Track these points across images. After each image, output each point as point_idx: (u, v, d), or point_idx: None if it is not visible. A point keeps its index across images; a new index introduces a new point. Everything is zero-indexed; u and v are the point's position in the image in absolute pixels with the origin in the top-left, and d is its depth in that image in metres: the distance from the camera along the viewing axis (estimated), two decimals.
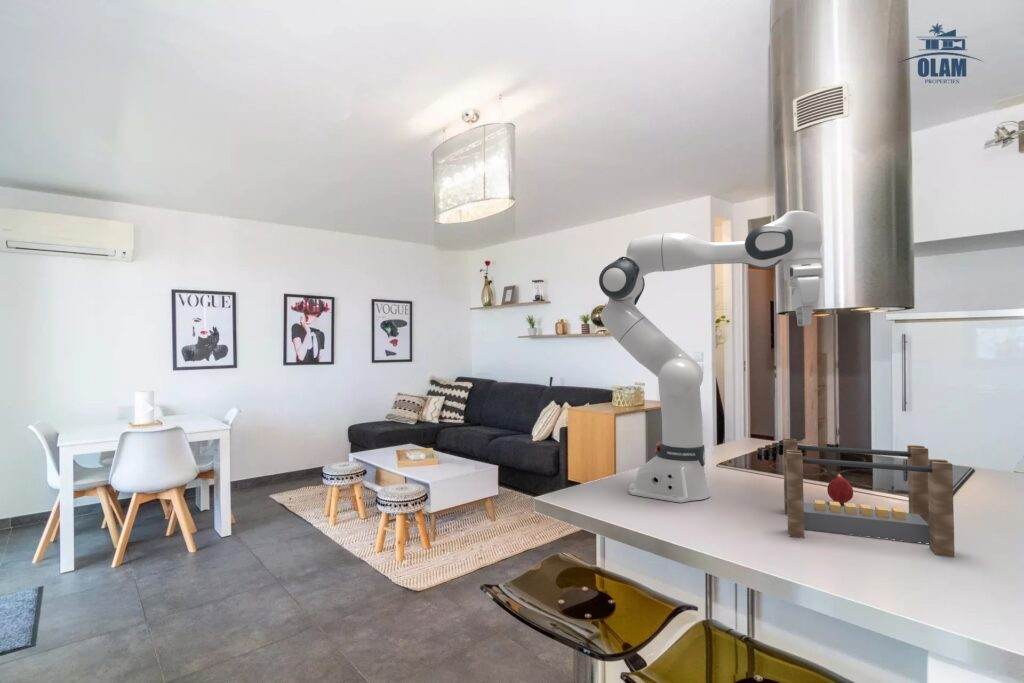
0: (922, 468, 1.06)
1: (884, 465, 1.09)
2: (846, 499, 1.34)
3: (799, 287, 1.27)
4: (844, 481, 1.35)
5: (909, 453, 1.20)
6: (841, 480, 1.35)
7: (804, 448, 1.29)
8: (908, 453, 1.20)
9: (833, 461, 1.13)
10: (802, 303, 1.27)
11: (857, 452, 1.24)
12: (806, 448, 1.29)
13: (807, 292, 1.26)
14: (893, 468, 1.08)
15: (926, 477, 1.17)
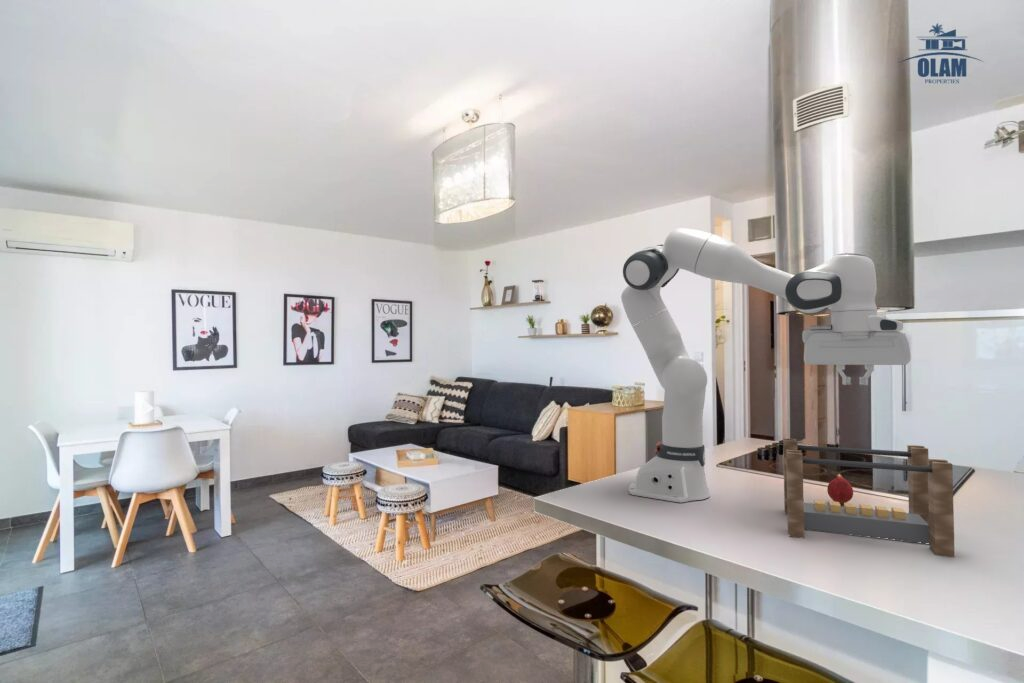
0: (922, 468, 1.06)
1: (884, 465, 1.09)
2: (846, 499, 1.34)
3: (908, 344, 1.12)
4: (844, 481, 1.35)
5: (909, 453, 1.20)
6: (841, 480, 1.35)
7: (804, 448, 1.29)
8: (908, 453, 1.20)
9: (833, 461, 1.13)
10: (908, 362, 1.13)
11: (857, 452, 1.24)
12: (806, 448, 1.29)
13: None
14: (893, 468, 1.08)
15: (926, 477, 1.17)
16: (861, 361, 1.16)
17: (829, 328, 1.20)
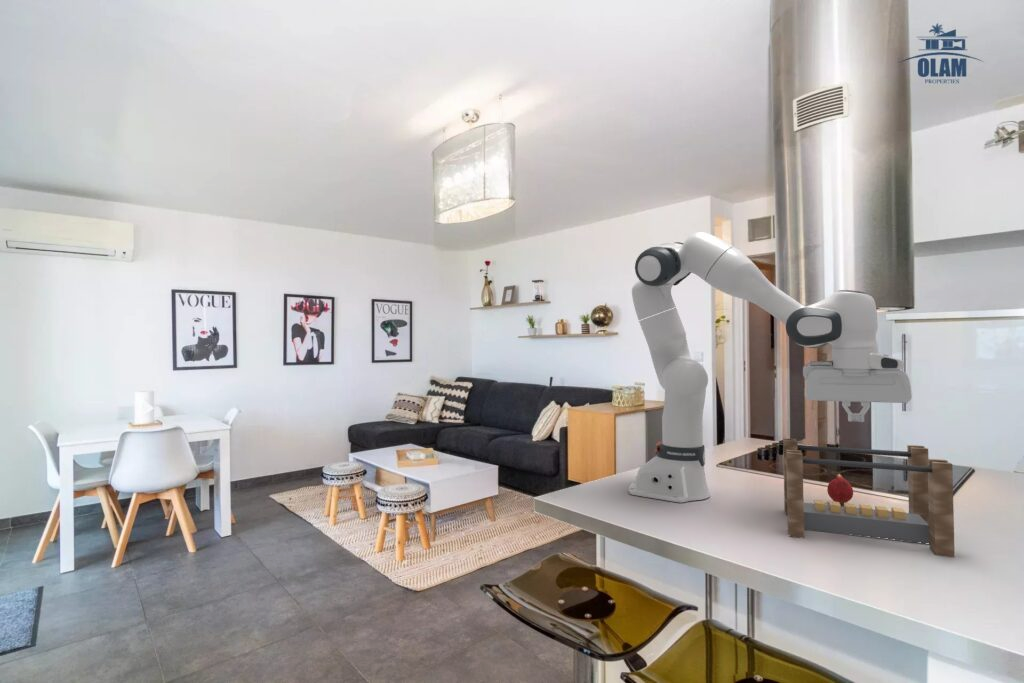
0: (922, 468, 1.06)
1: (884, 465, 1.09)
2: (846, 499, 1.34)
3: (909, 382, 1.12)
4: (844, 481, 1.35)
5: (909, 453, 1.20)
6: (841, 480, 1.35)
7: (804, 448, 1.29)
8: (908, 453, 1.20)
9: (833, 461, 1.13)
10: (909, 400, 1.12)
11: (857, 452, 1.24)
12: (806, 448, 1.29)
13: None
14: (893, 468, 1.08)
15: (926, 477, 1.17)
16: (862, 398, 1.16)
17: (830, 364, 1.20)
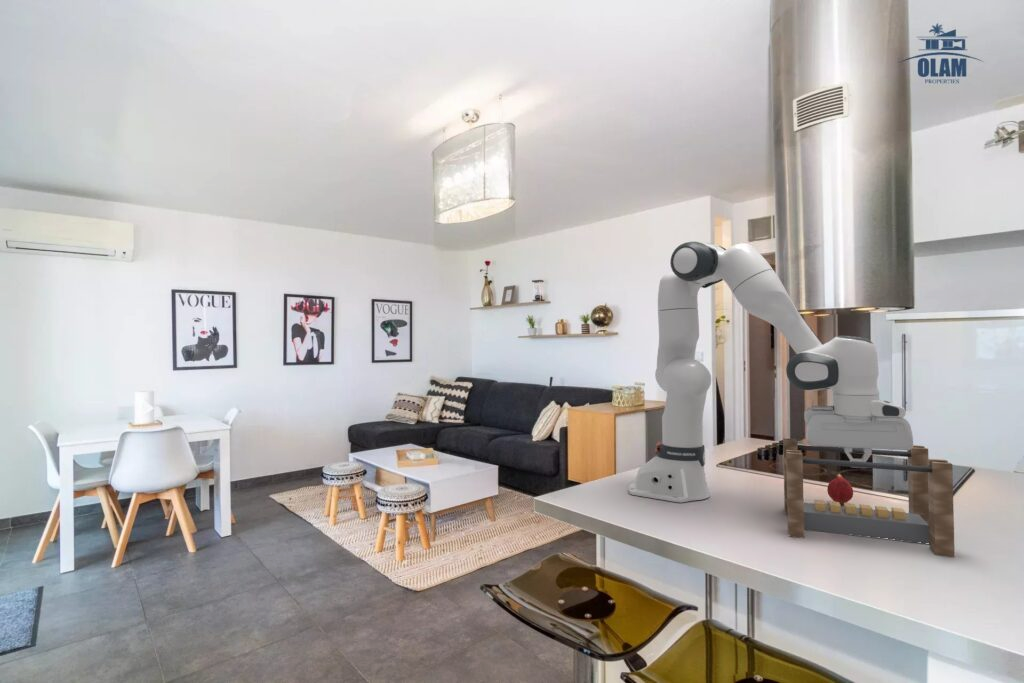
0: (922, 468, 1.06)
1: (884, 465, 1.09)
2: (846, 499, 1.34)
3: (910, 430, 1.12)
4: (844, 481, 1.35)
5: (909, 453, 1.20)
6: (841, 480, 1.35)
7: (804, 448, 1.29)
8: (908, 453, 1.20)
9: (833, 461, 1.13)
10: (910, 448, 1.12)
11: (857, 452, 1.24)
12: (806, 448, 1.29)
13: None
14: (893, 468, 1.08)
15: (926, 477, 1.17)
16: (864, 445, 1.16)
17: (831, 409, 1.19)
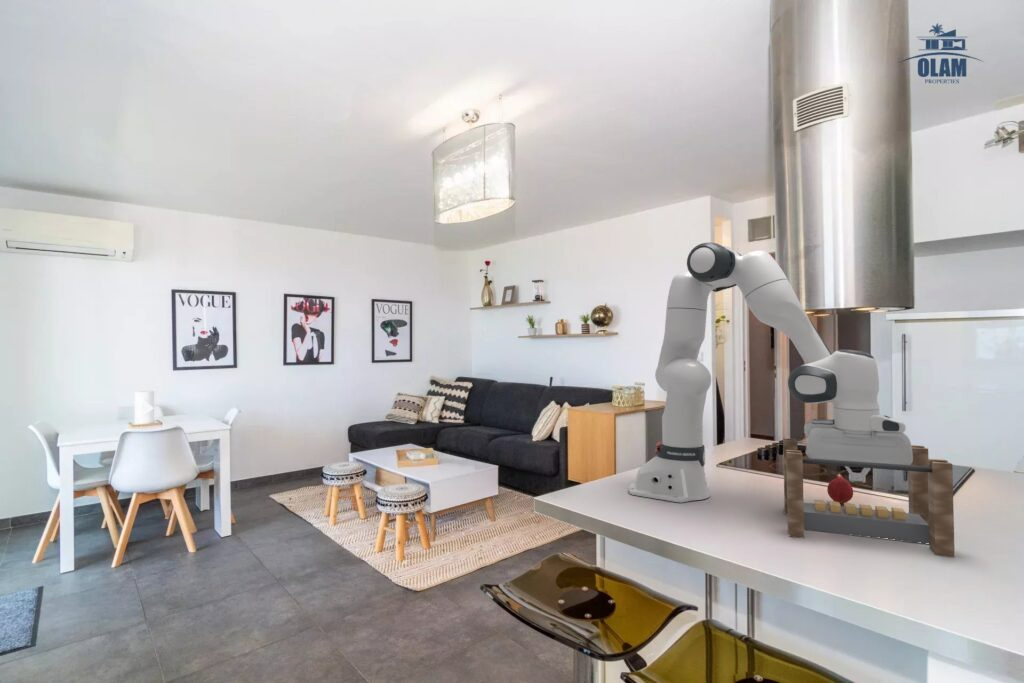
0: (922, 468, 1.06)
1: (884, 465, 1.09)
2: (846, 499, 1.34)
3: (910, 446, 1.12)
4: (844, 481, 1.35)
5: None
6: (841, 480, 1.35)
7: (804, 448, 1.29)
8: None
9: (833, 461, 1.13)
10: (910, 463, 1.12)
11: None
12: None
13: None
14: (893, 468, 1.08)
15: (926, 477, 1.17)
16: (863, 459, 1.16)
17: (831, 423, 1.20)
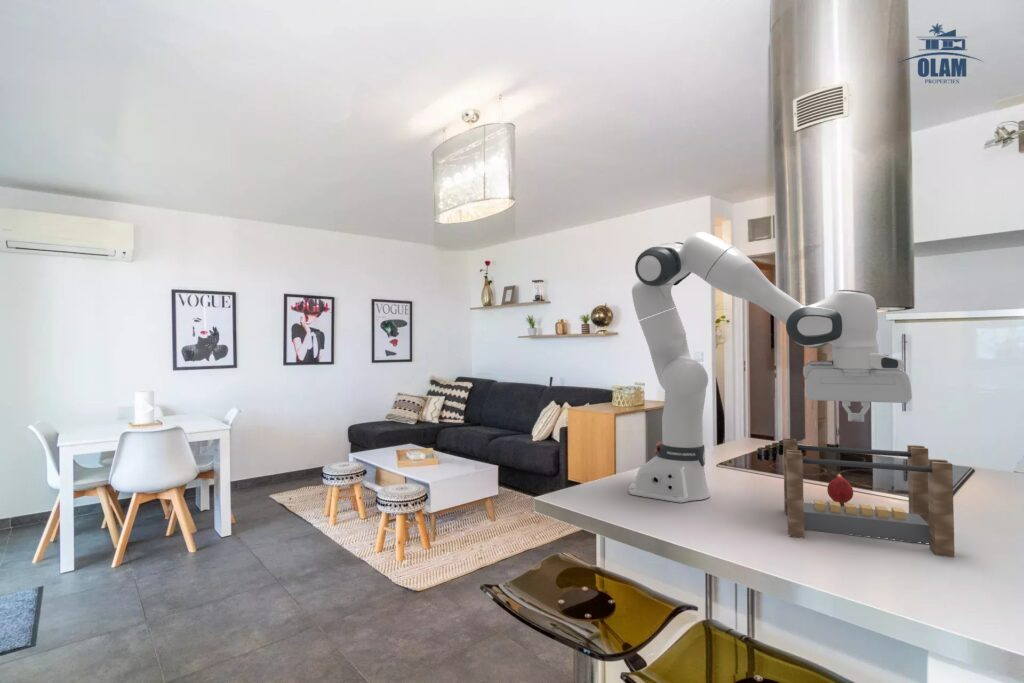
0: (922, 468, 1.06)
1: (884, 465, 1.09)
2: (846, 499, 1.34)
3: (909, 382, 1.12)
4: (844, 481, 1.35)
5: (909, 453, 1.20)
6: (841, 480, 1.35)
7: (804, 448, 1.29)
8: (908, 453, 1.20)
9: (833, 461, 1.13)
10: (909, 400, 1.12)
11: (857, 452, 1.24)
12: (806, 448, 1.29)
13: None
14: (893, 468, 1.08)
15: (926, 477, 1.17)
16: (862, 398, 1.16)
17: (830, 364, 1.20)
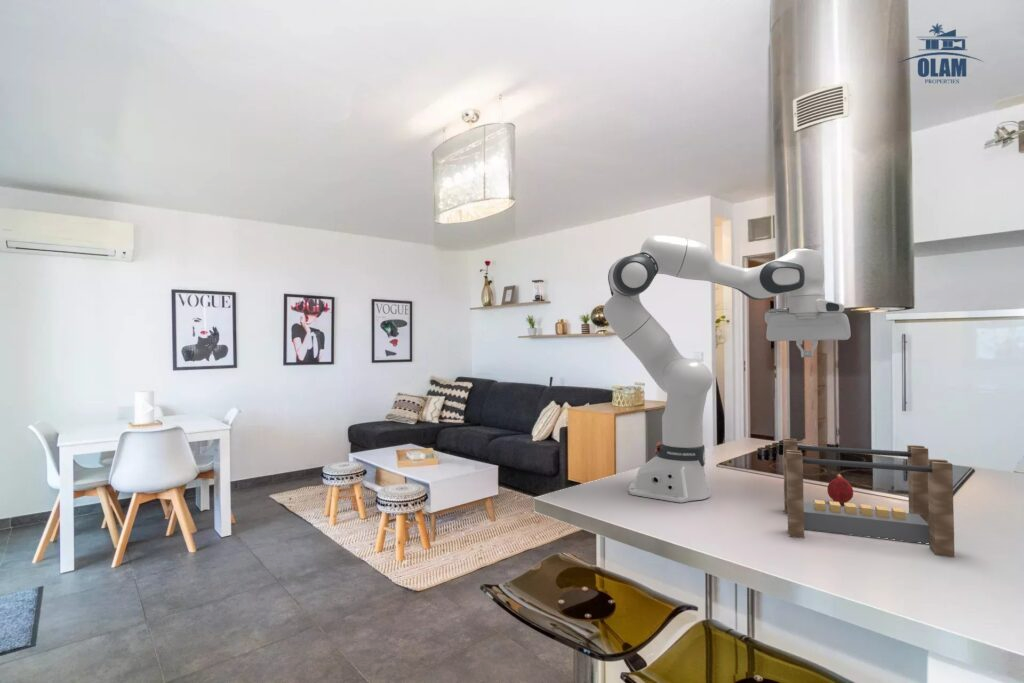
0: (922, 468, 1.06)
1: (884, 465, 1.09)
2: (846, 499, 1.34)
3: (848, 322, 1.37)
4: (844, 481, 1.35)
5: (909, 453, 1.20)
6: (841, 480, 1.35)
7: (804, 448, 1.29)
8: (908, 453, 1.20)
9: (833, 461, 1.13)
10: (848, 337, 1.37)
11: (857, 452, 1.24)
12: (806, 448, 1.29)
13: None
14: (893, 468, 1.08)
15: (926, 477, 1.17)
16: (811, 337, 1.41)
17: (786, 310, 1.45)
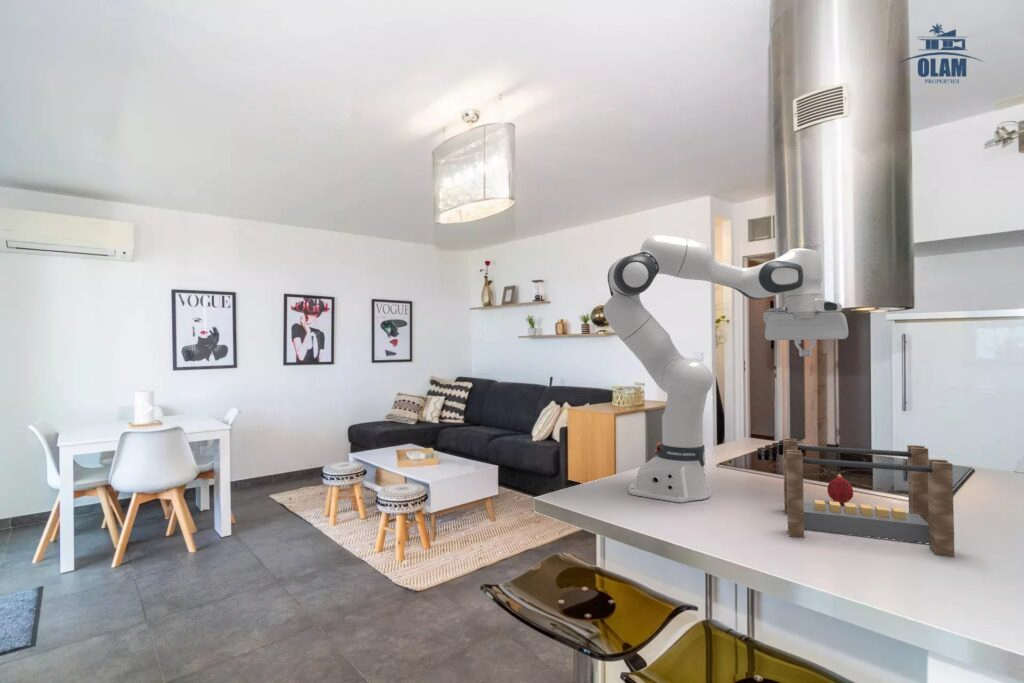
0: (922, 468, 1.06)
1: (884, 465, 1.09)
2: (846, 499, 1.34)
3: (846, 322, 1.38)
4: (844, 481, 1.35)
5: (909, 453, 1.20)
6: (841, 480, 1.35)
7: (804, 448, 1.29)
8: (908, 453, 1.20)
9: (833, 461, 1.13)
10: (846, 337, 1.39)
11: (857, 452, 1.24)
12: (806, 448, 1.29)
13: None
14: (893, 468, 1.08)
15: (926, 477, 1.17)
16: (809, 336, 1.42)
17: (784, 310, 1.46)
